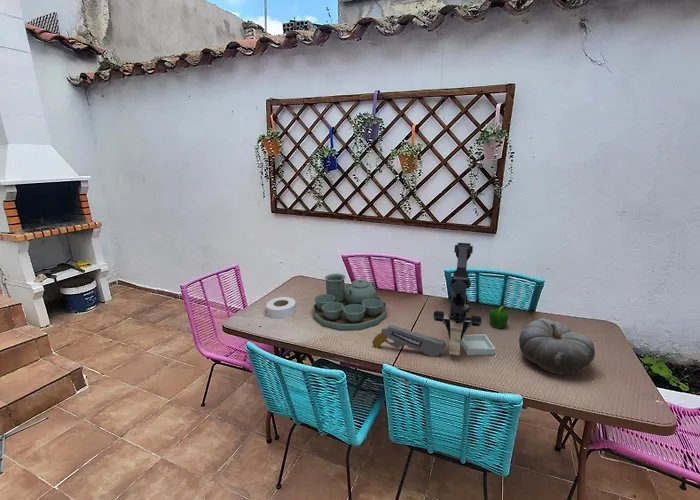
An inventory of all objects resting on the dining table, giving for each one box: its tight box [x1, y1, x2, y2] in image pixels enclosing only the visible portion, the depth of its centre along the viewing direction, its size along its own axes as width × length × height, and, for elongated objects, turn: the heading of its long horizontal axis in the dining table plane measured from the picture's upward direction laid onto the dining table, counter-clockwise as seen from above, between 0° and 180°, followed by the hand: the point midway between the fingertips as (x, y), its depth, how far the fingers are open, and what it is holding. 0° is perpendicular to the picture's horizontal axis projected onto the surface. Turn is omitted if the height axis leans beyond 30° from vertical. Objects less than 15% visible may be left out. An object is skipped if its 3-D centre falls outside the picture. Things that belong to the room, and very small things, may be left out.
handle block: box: [448, 322, 463, 356], centre depth 138 cm, size 4×4×12 cm
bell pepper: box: [488, 305, 509, 329], centre depth 163 cm, size 8×8×10 cm
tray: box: [460, 333, 497, 357], centre depth 147 cm, size 12×12×3 cm
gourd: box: [518, 317, 596, 375], centre depth 134 cm, size 25×25×17 cm
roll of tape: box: [266, 296, 297, 320], centre depth 185 cm, size 16×16×6 cm
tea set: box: [312, 273, 388, 331], centre depth 181 cm, size 40×40×16 cm
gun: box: [372, 324, 447, 358], centre depth 146 cm, size 4×28×17 cm, turn 74°
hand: (455, 339), depth 137 cm, fingers closed on handle block, 4 cm apart
